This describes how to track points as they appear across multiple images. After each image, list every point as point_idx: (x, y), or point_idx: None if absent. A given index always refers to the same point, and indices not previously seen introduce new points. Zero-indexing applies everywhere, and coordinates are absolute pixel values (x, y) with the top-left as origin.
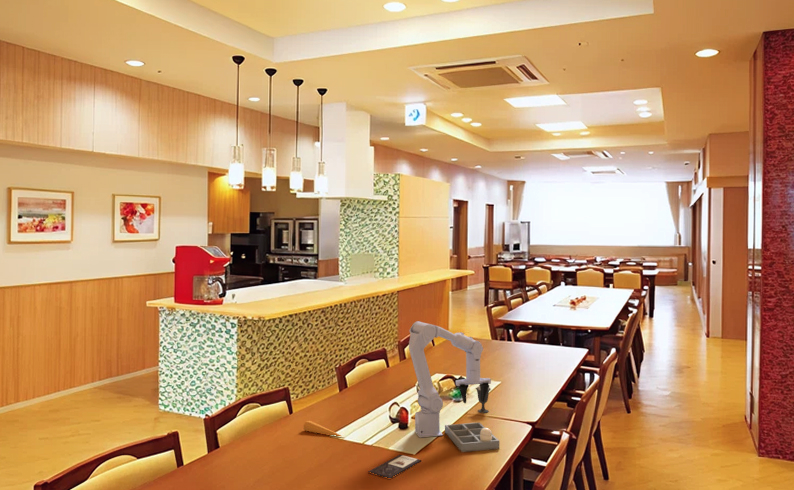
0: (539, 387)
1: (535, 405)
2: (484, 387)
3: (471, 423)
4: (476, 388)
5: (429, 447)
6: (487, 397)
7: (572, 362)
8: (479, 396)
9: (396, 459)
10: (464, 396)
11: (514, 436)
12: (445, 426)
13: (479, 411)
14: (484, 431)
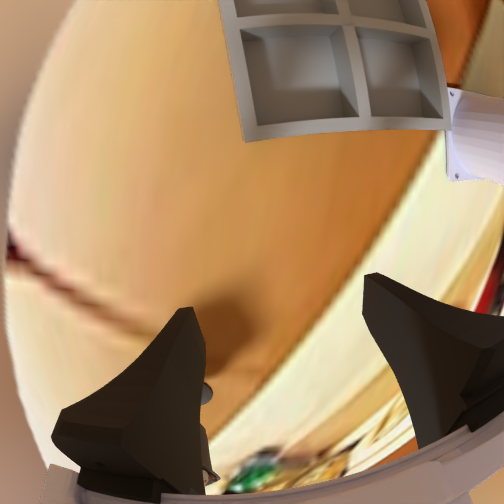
0: (69, 464)
1: (37, 397)
2: (125, 420)
3: (307, 123)
4: (215, 479)
5: (471, 6)
6: None
7: None
8: (201, 442)
9: None
10: (422, 297)
11: (77, 49)
12: (448, 119)
13: (205, 389)
14: None
